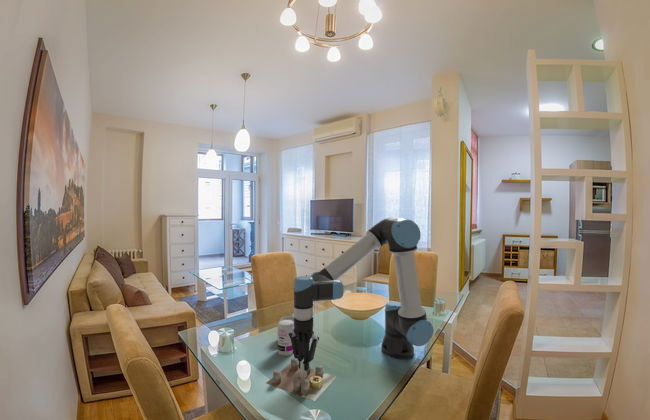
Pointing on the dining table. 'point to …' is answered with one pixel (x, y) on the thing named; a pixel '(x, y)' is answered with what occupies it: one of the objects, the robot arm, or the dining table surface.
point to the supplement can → (285, 337)
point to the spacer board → (289, 379)
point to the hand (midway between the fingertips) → (303, 377)
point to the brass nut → (315, 382)
